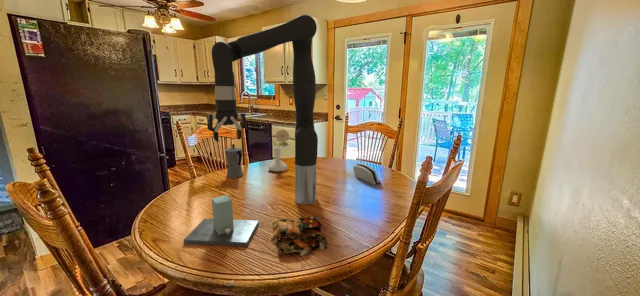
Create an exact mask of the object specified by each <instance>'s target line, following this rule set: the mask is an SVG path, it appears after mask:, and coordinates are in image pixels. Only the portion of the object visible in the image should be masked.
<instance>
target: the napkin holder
mask: <svg viewBox="0 0 640 296" xmlns="http://www.w3.org/2000/svg"><path fill="white" fill-rule="evenodd" d="M353 173H354V177H356V178H358V179H360V178H361V179H360V180H362V179H363V181H364V180H365V182H366V181H367V182H366V183H369V182H370V183H369V184H371V183H372V184H371V185H373V184H380V183H379V182H381V180H380V179H379V177H378V175H377V171H376V169H374V168H373V167H371V166H370V165H368V164H365V163H357V164H355V165H354V166H353Z"/></svg>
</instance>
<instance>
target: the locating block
mask: <svg viewBox="0 0 640 296" xmlns="http://www.w3.org/2000/svg"><path fill="white" fill-rule="evenodd" d="M211 205H212V208H211V209H212V217H213V218H212V219H213V221H214V229H215V231H216V232H217V233H218V235H220V234H223V233H225V228H226V227H230V231H233V230H234V226H233V220H234V213H233V200H232V198H231V197H229V195H227V194H225V195H221V196H216V197H212V198H211Z"/></svg>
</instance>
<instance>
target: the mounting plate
mask: <svg viewBox="0 0 640 296" xmlns="http://www.w3.org/2000/svg"><path fill="white" fill-rule="evenodd" d="M259 222H260V220H254V219H253V220H251V219H250V220H249V219H233V226H234V230H233V231H230V227H226V228H225V233H223V234H220V235H218V233H217V232H216V231H215V229H214V221H213V218H203V219H202V220H201V221H200V222H199V223H198V224H197V225H196V227H194V228H193V230H192V231H191V232H190V233H189V234H188V235H187V236H186V237H185V238H184V239H183V244H184V245H197V246H217V247H218V246H219V247H220V246H222V247H225V246H226V247H246V248H247V247H248V245H249V243H250V241H251V240H252V238H253V236H254V234H255V232H256V231H257V228H258V226H259V224H260V223H259Z"/></svg>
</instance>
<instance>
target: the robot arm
mask: <svg viewBox="0 0 640 296" xmlns="http://www.w3.org/2000/svg"><path fill="white" fill-rule="evenodd" d="M317 27H318V26H317V22H316V20H315V19H314V18H313V17H312V16H310V15H308V14H299V16H296V17H295V18H293V19H291V20H289V21H286V22H284V23H282V24H279V25H277V26H274V27H272V28H267V29H264V30H261V31H256V32H253V33H250V34H246V35H244V36H243V35H242V36H241V37H238V38H236V40H233V41H230V42H229V41H228V42H224V41H217V42H214V44H213V45H212V48H211V60H212V66H213V70H214V87H215V88H214V101H215V114H210V113H209V114H207V130H208V131H211V132H212V135H213V140H214V142H217V143H218V142H220V139H219V138H220V136H219V132H218V131H219V130H220V129H221V128H222V126H234V127H235V128H236V139H237V140H238V141H239V140H241V139H242V135H243V133H242V130H243V129H246V128H247V121H246V114H245V113H244V112H240V113H238V112H237V111H238V108H237V106H238V105H237V93H236V84H235V83H236V82H235V74H234V69H233V62H235V61H238V60H241V59H243V58H246V57H250V56H253V55H257V54H260V53H263V52H266V51H268V50H271V49H272V48H275V47H277V46H279V45H283V44H286V43H291V42H292V49H293V50H292V51H293V62H292V63H293V64H292V89H293V90H292V93H293V101H294V107H295V116H296V117H295V130H294V144H295V145H294V201H295V203H296V204H298V205H302V206H304V205H306V206H307V205H314V204H315V205H316V202H317V182H318V181H317V180H318V179H317V159H318V144H319V143H318V142H319V141H318V134H317V132H316V130H315V122H314V109H315V105H316V103H315V101H316V94H317V93H316V92H317V84H316V83H317V81H316V72H315V68H314V67H315V66H314V63H313V58H312V44H313V38H314V37H315V35H316V33H317V30H318V29H317ZM238 118H239V120H240V124H239V122H238V121H237V119H238ZM215 119H216V120H217V122H216V123H215V124H214V122H213V121H215ZM213 124H214V125H213Z"/></svg>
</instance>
